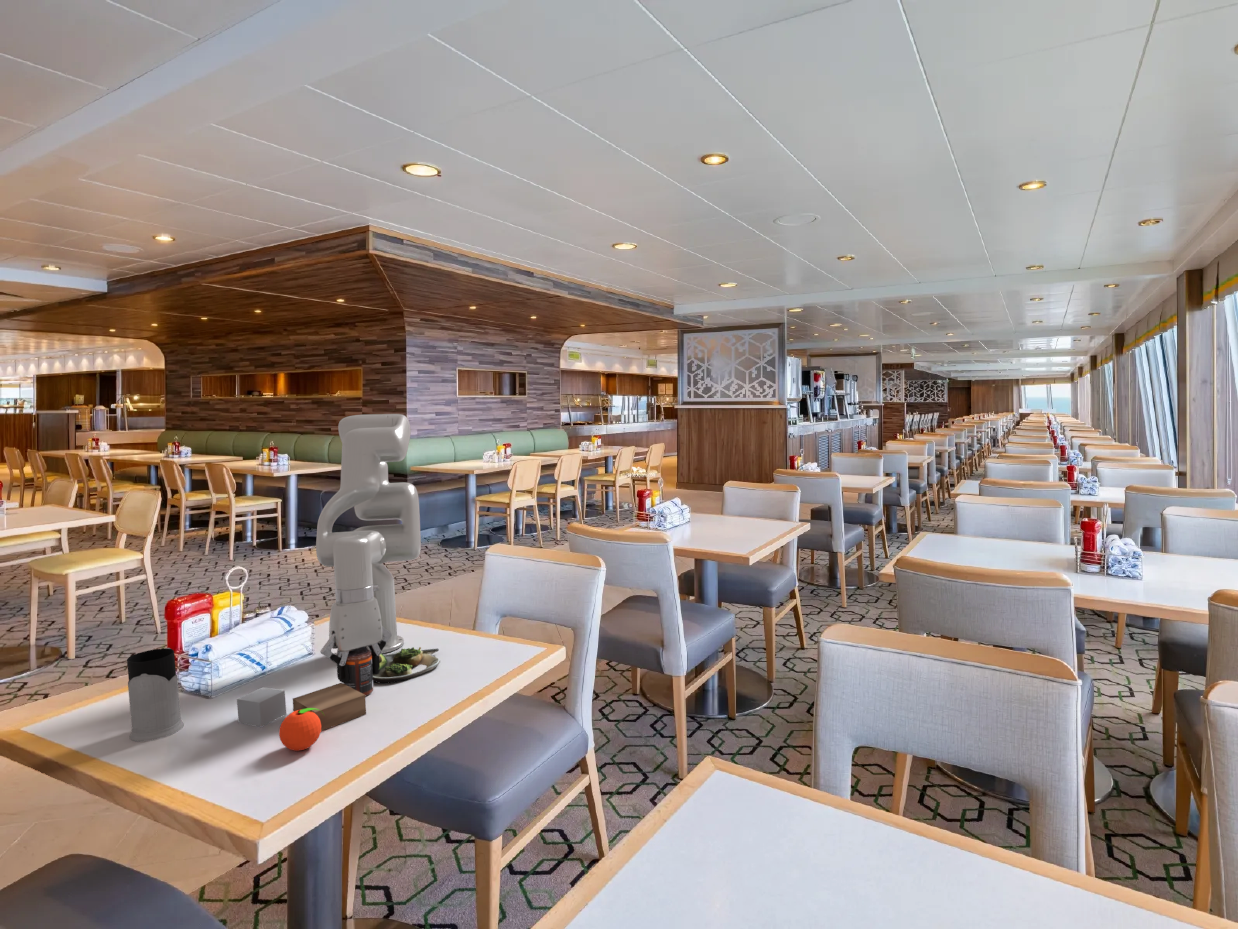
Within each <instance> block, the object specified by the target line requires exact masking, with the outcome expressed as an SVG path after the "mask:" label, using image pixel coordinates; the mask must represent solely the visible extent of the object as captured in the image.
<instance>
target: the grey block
mask: <svg viewBox="0 0 1238 929" xmlns="http://www.w3.org/2000/svg"><path fill="white" fill-rule="evenodd" d="M286 703H287V702H286V691H285V690H282V689H276V688H272V687H271V688H269V687H263V686H262V687H260V688H257V689H255V690H254V691H251V692H249V693H246V694H245V695H243V696H240V697H238V698H237V699H236V704H237V706H236V707H237V717H238V718H237V719H238V720H237V722H238V724H242V725H248V726H253V727H259V728H262V727H265V726H266V725H268V724H270V723H272V722H275V721H276V720H278V719H280V718H281V716H282V717H284V716H286V715H287V704H286ZM283 715H284V716H283ZM275 719H276V720H275Z"/></svg>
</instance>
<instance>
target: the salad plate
mask: <svg viewBox="0 0 1238 929" xmlns="http://www.w3.org/2000/svg"><path fill="white" fill-rule="evenodd" d="M439 650H440V648H429V649H427V648H426V649H422V647H421V646H419V647H418V649H416V648H415V647H411V648H409V647H408V648H400V650H398V651H396V652H391V653H389V654H384V653H381V655H379V663H380V668H379V674H377V675H375V674H373V683H376V684H394V683H399V682H403V681H407V680H410V679H412V678H415V677H418V676H421V675H424V674H426V673H427V672H431V671H432V670H434V669H435V668H436V667H438V666H439V664H440V663H441V659H440V658H438V657H436V656H433V654H435V653H436V652H439ZM420 665H421V666H426V667H425V668H424V669H422V670H419V671H415V672H412V669H413V668H415V667H418V666H420Z"/></svg>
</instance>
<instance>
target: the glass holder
mask: <svg viewBox="0 0 1238 929" xmlns="http://www.w3.org/2000/svg"><path fill="white" fill-rule="evenodd" d="M126 663H127V666H126V667H127V675H128V682H127V688H128V689H127V690H128V700H129V710H130V713H129V714H130V723H131V732H130V734H129V739H130V740H131V741H133V742H149V741H151V742H152V741H156V740H159V739H163V738H166V737H169V736H171V735H174V734H176V733H177V732H179V731H180V730H182V729H183V727H185V722H184V721H183V719H182V717H181V706H180V693H179V683H178V681H179V679H178V674H177V671H176V656H175V650H174V649H172V648H170V647H164V648H154V649H149V650H144V651H141V652H138V653H135V654H132V655H130V656H129V657H127V659H126Z"/></svg>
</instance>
